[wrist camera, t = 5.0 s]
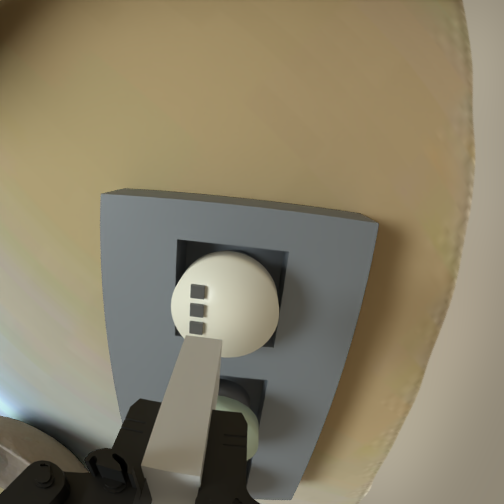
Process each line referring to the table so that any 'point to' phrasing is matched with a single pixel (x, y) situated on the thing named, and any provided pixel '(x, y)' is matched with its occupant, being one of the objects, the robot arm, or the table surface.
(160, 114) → the table surface
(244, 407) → the button two
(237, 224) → the console
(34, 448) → the bowl
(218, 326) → the button three
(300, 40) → the table surface
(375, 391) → the table surface
